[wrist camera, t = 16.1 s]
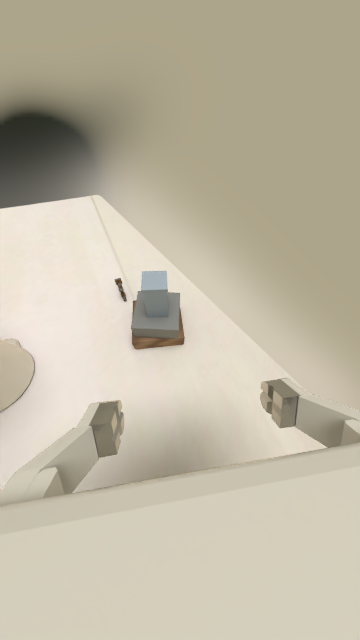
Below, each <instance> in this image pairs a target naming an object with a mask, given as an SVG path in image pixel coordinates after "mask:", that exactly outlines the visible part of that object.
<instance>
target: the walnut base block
mask: <svg viewBox="0 0 360 640" xmlns="http://www.w3.org/2000/svg"><path fill="white" fill-rule="evenodd" d="M135 305H136V301H133V315H134V310H135ZM132 344H133V346H134V347H135V349H143V348H153V347H163V346H173V345H183V344H184V332H183V325H182V319H181V312H180V309H179V334H178V339H168V338H143V337H135V336H134V334H133V332H132Z"/></svg>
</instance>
